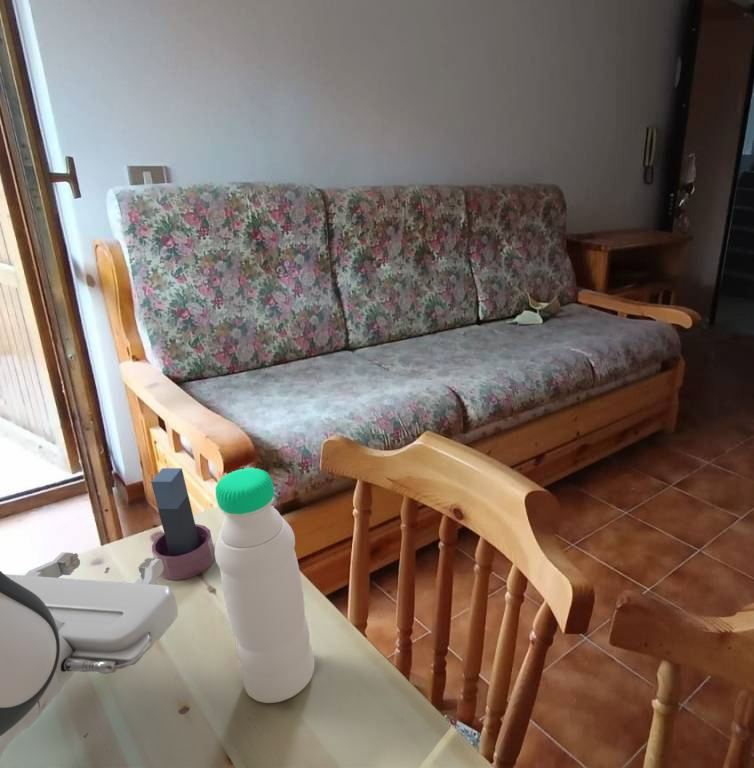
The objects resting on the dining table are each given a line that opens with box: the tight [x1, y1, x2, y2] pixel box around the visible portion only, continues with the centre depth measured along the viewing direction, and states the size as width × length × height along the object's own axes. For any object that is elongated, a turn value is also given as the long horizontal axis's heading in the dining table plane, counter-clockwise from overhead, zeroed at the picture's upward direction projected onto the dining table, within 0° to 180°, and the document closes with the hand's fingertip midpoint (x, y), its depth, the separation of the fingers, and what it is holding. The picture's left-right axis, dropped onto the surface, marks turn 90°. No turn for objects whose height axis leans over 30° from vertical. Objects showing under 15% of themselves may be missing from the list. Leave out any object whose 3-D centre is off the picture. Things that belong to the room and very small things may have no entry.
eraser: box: [150, 467, 200, 556], centre depth 79 cm, size 2×3×13 cm
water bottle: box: [214, 467, 315, 704], centre depth 61 cm, size 7×7×25 cm
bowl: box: [151, 523, 216, 581], centre depth 82 cm, size 7×7×4 cm
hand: (114, 560), depth 68 cm, fingers open, 8 cm apart
